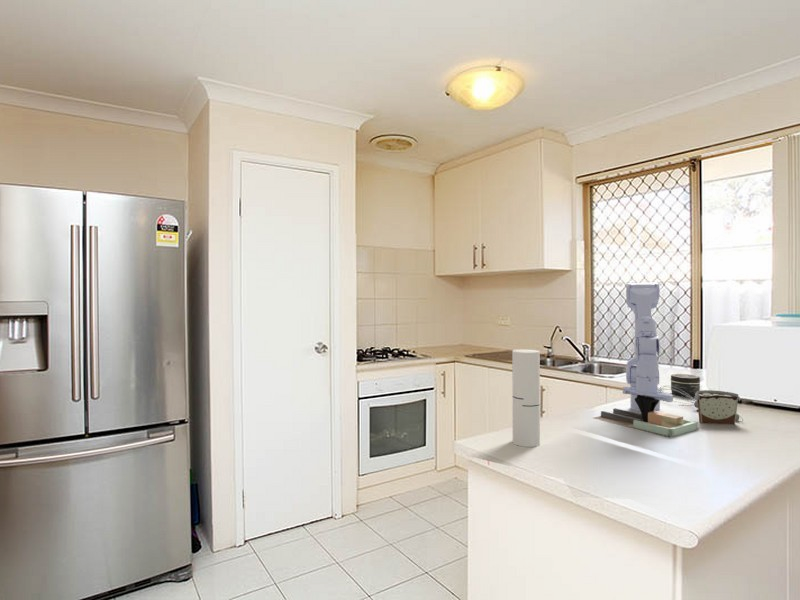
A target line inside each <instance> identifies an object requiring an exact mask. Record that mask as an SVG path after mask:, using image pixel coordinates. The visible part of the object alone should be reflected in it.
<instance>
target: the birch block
mask: <svg viewBox="0 0 800 600" xmlns="http://www.w3.org/2000/svg"><path fill="white" fill-rule="evenodd" d="M683 419H684V416H682V415H678V414H674V413H669V414H665V415H662V426H663V427H667V428H672V427H676V426H679V425H683Z"/></svg>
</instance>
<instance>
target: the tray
mask: <svg viewBox="0 0 800 600" xmlns="http://www.w3.org/2000/svg"><path fill="white" fill-rule="evenodd" d="M698 426H699V422H698V421H694V420H691V419H685V418H683V425H679V426H676V427H672V428H667V427H663V426H658V425H654V424H650V423H646V422H642V421H637V420H633V427H634V428H638V429H642V430H646V431H650V432H654V433H658V434H662V435H666V436H670V438H673V437H676V435H677V436H680V435H682V434H686V432H687V433H690V432H692V431H696V429H697V430H699V429H698V428H699V427H698ZM634 428H633V429H634ZM689 431H690V432H689ZM679 434H680V435H679Z"/></svg>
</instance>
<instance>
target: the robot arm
mask: <svg viewBox="0 0 800 600" xmlns="http://www.w3.org/2000/svg"><path fill="white" fill-rule="evenodd" d="M625 287H626V288H625V289H626V290H625V297H626V305H627V308H628V309H632V311H633V314H634V355H635V356H634V357H632V358H630V359H629V360H627V362H626V367H625V368H626V369H625V370H626V371H625V379H626V384H627V385H630V387H629V386H624V387H622V394H624V395H630V409H631V410H633V411H636V412H640V414H641V415H642V418H643V421H644V422H648V412H652V411H659V410H660V408H661V401H662V402H664V401H665V402H666V403H672V402H674V397H673V396H674V394H672V395H671V393H669V394H668V393H667V392H666V393H665V392H664V393H663V392H662V391H661V392H659V390H660V389H659V387H658V385H660V369H659V364H658V362H659V360H658V359H659V356H660V353H661V352H660V351H661V349H660V348H661V342H660V338H659V335H658V333H657V326H656V325H657V324H656V320H654V319H653V318H652V310H653V309H656V308H657V305H659V300H660V294H661V293H660V284H659V283H658V282H637V283H636V282H633V283H632V282H627V284H626V285H625Z"/></svg>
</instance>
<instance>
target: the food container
mask: <svg viewBox="0 0 800 600" xmlns="http://www.w3.org/2000/svg"><path fill="white" fill-rule="evenodd" d="M693 398H694V401H695V400H696V401H697V405H698V408H697V413H698V421H699V422H698V423H700V424H714V425H716V424H717V425H718V424H719V425H720V424H721V425H736V422H737V421H736V414H738V412H737V411H738V403H739V402H741V398H740V396H739V394H738V393H735V392H728V391H724V390H710V389H706V390H705V389H700V391H697V392H696V394H695V397H693Z"/></svg>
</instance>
